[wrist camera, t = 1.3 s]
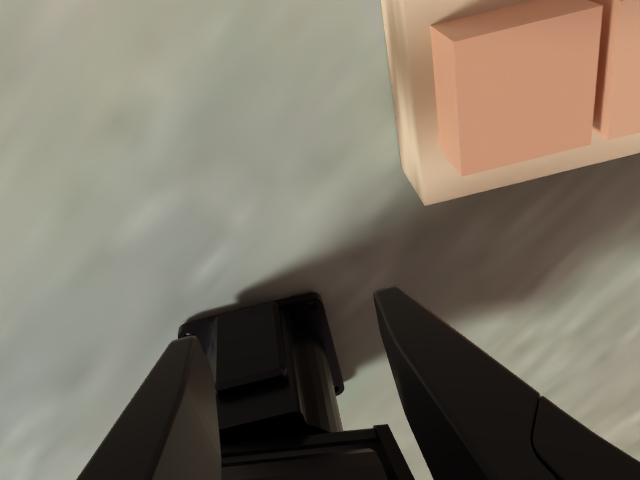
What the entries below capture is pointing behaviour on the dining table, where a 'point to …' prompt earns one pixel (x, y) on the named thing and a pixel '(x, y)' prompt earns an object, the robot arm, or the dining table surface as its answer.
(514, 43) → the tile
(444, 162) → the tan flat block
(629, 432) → the dining table surface
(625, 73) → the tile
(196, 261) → the dining table surface
